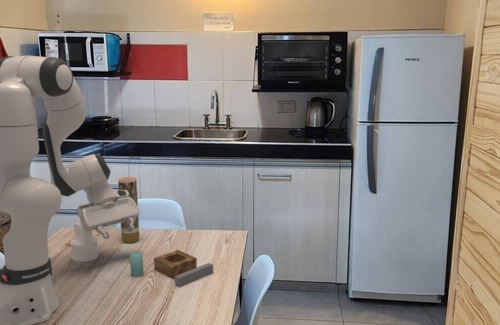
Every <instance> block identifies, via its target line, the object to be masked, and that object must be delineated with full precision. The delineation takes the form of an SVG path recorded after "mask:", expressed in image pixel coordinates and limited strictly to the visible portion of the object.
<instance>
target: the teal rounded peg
mask: <svg viewBox="0 0 500 325" xmlns="http://www.w3.org/2000/svg"><path fill="white" fill-rule="evenodd" d="M143 256H144V254H143V252H142V251H141V252H140V251H134V252H131V253H130V254H129V263H130V276H131V277H133V278H139V277H142V276H144V259H143V258H144V257H143Z"/></svg>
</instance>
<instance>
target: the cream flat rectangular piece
mask: <svg viewBox="0 0 500 325" xmlns="http://www.w3.org/2000/svg"><path fill="white" fill-rule="evenodd" d="M213 273H214V264H213V263H210V262H208V263H207V262H206V263H205V264H203V265H200V266H197V268H195V269H192V270H189V271H187V272H184V273H182V274H179V275H177V276H175V278H174V286H176V287H177V288H180V287H183V286H186V285H188V284H190V283H192V282H195V281H198V280H200V279H202V278H205V277H207V276H209V275H211V274H213Z"/></svg>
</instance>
